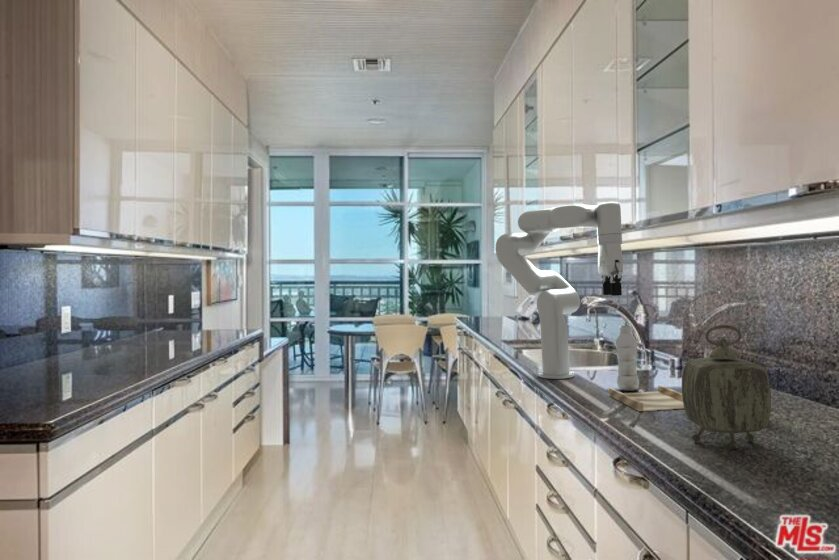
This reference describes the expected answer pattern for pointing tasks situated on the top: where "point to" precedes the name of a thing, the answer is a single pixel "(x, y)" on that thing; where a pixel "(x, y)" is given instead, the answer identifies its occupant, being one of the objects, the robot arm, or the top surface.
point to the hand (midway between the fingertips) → (612, 294)
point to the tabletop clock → (726, 392)
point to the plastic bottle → (626, 360)
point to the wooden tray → (650, 399)
